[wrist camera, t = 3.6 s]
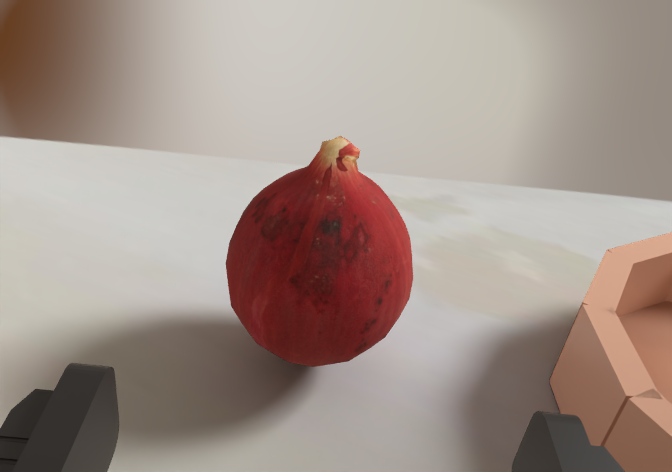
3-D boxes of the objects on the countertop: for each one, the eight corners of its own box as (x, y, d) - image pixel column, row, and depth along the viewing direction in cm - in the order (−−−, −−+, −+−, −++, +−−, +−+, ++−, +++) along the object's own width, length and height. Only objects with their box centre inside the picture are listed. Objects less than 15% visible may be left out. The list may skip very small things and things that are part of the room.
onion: (387, 436, 20) (443, 212, 15) (201, 404, 20) (205, 173, 15) (393, 315, 24) (437, 120, 20) (244, 290, 25) (257, 91, 20)
